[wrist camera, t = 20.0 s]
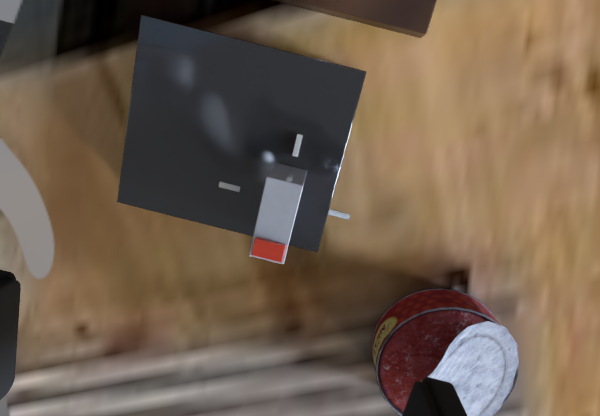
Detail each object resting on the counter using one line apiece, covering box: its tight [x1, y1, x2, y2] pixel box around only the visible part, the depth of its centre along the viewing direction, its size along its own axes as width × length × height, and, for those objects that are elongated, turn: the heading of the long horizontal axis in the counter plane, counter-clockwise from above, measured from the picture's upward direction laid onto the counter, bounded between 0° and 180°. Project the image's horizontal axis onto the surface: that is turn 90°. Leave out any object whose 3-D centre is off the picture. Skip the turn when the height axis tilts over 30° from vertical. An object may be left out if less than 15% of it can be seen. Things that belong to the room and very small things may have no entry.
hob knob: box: [249, 163, 307, 264], centre depth 24 cm, size 5×2×5 cm, turn 166°
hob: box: [117, 15, 366, 262], centre depth 27 cm, size 15×13×3 cm
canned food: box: [372, 289, 519, 416], centre depth 28 cm, size 11×10×10 cm
